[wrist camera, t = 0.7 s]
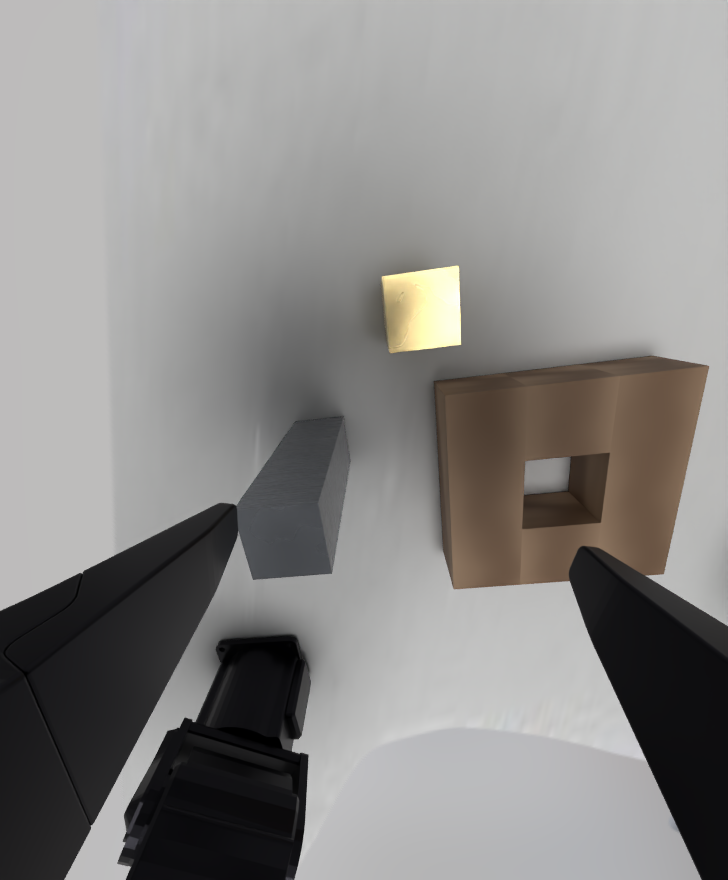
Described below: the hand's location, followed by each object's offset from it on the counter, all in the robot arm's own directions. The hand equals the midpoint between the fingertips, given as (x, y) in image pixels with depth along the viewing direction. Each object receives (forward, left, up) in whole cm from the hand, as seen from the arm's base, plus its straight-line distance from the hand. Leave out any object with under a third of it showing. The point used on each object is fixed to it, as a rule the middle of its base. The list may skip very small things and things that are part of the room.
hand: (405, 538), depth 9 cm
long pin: (-4, -2, -13) cm, 13 cm away
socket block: (+9, -5, -13) cm, 16 cm away
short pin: (+2, +5, -13) cm, 14 cm away
